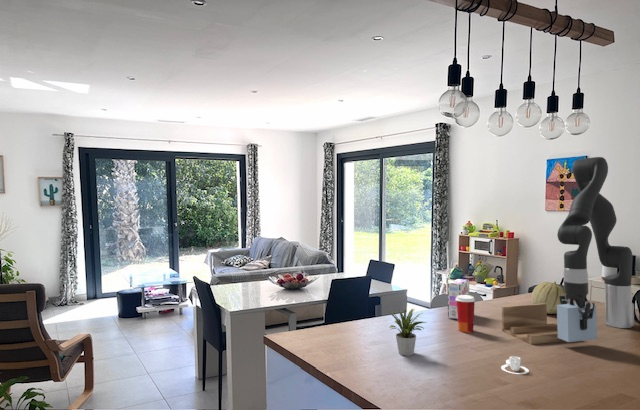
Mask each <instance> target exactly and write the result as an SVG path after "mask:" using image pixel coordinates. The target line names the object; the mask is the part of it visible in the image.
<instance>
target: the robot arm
mask: <svg viewBox="0 0 640 410" xmlns="http://www.w3.org/2000/svg"><path fill="white" fill-rule="evenodd" d="M571 168H572V173H573V177H574V180H575V183H576V184H577V187H578V189H579V193H578V194H577V195H576V196H575V197H574V198H573V199H572V202H571V204H570V208H569V212H568V215H567V216H566V217H565V219H564V220H563V222H562V223H561V225H560V226H559V228H558V230H557V234H556V235H557V239H558V241H559V242H560V243H561V244H563V245H570V246H571V245H572V246H573V245H575V246H578V248H577V249H576V250H568V251H566V252H564V254H563V268H564V269H563V289H564V292H565V293H566V295H563V296H559V298H560V303H561V304H569V305H574V306H576V307H578V313H579V317H580V329H581V330H586V329H587V320H588V319H592V318H593V312H594V307H595V302H590V301H588V298H587V296H588V294H589V274H588V265H587V264H588V261H587V259H588V252H589V247H590V245H591V242H592V238H593V236H594V239H595V244H596V249H597V254H598V258H599V261H600V262H599V263H601V265H602V266H603V267H606V268H614V269H619V270H618V272H617V273H615V274H611V275H606V276H605V277H604V282H603V283H604V284H603V285H604V320H605V321H604V323H605V325H607V326H609V327H612V328H619V329H631V328H632V327H635V310H634V309H635V308H634V303H633V302H632V278H633V252H632V249H631V248H630V247H628V246H624V245H623V246H621V245H610V243H609V236H610V234H611V232H612V231H613V230H614V228H615V226H616V224H617V221H618V220H617V215H616V211H615V208H614V206H613V204H612V203H611V201H609V200H608V198H606V197H605V196H604V195H602V194H601V193H600V192H601V190H602V188H603V185H604V183H605V181H606V179H607V176H608V173H609V165H608V162H607V159H606V158H604V157H603V156H595V157H586V158H579V159H576V160H574V161H573V163H572V167H571ZM589 223H590V227H591V228H592V229H591V228H590V227H589V226H587V224H589ZM592 232H593V233H592ZM579 307H580V308H584V307H585V310H580V308H579ZM582 312H584V316H583V314H582ZM588 314H589V315H588Z"/></svg>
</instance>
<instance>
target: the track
mask: <svg viewBox="0 0 640 410" xmlns="http://www.w3.org/2000/svg"><path fill="white" fill-rule="evenodd" d="M547 314H548V313H547V304H545V303H544V304H519V305H518V304H517V305H516V304H515V305H502V306H501V322H502V323H501V326H502V327H501V328H502V329H501V330H502V332H503V331H504V333H506V334H508V335H510V336H512V337H514V338H517V339H518V340H521V341H523V342H525V343H527V344H530V345H539V344H546V343H547V344H548V343H550V344H551V343H558V342H565V341H564V340H562V339H560V338H558V329H557V323H548V318H547V317H548V315H547Z"/></svg>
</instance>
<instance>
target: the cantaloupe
mask: <svg viewBox="0 0 640 410" xmlns="http://www.w3.org/2000/svg"><path fill="white" fill-rule="evenodd" d="M563 295H566V293H565V292H564V287H562V286H560V285H559V284H557V282H556V281H554V282H550V281H543V282H541V283H539V284H537V285H535V287H534V288H533V290H532V294H531V300H532V303H533V304H544V303H545V304H547V314H549V315H553V314H554V315H555V314H556V315H557V305H561V303H560V298H559V296H563Z"/></svg>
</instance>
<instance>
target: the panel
mask: <svg viewBox="0 0 640 410" xmlns="http://www.w3.org/2000/svg"><path fill="white" fill-rule="evenodd" d="M579 308H580V307H579ZM580 310H585V307H584V308H580ZM597 311H598V309H597V305H595V307H594V312H593V318H592V319H588V320H587V329H586V330H581V329H580V317H579V313H578V307H576V306H574V305H569V304H561V305H557V313H556V320H557V321H556V322H557V323H556V324H557V329H558V338H560V339H562V340H564V341H563V342H567V343H571V342H573V343H574V342H583V341H592V340H598V319H597V318H598V316H597V315H598V314H597V313H598V312H597ZM582 314H583V316H584V312H582ZM588 315H589V314H588Z"/></svg>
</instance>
